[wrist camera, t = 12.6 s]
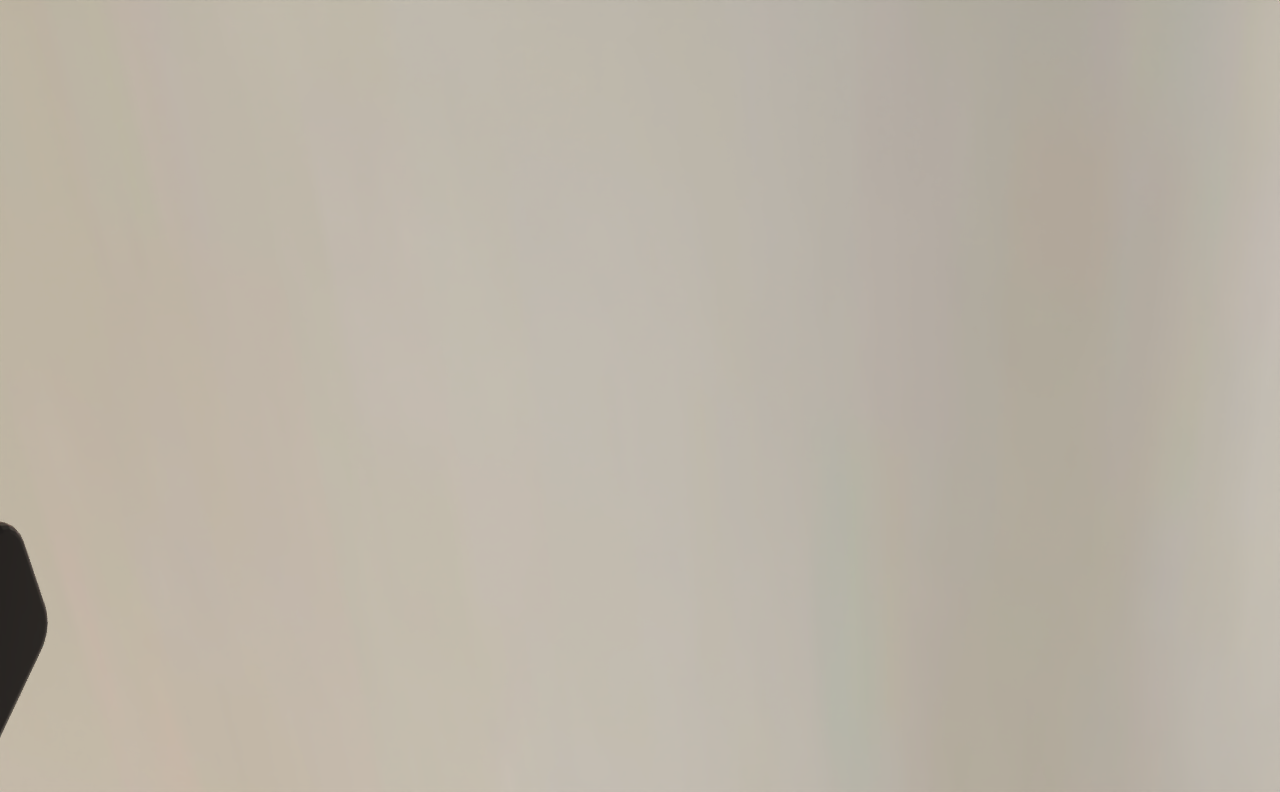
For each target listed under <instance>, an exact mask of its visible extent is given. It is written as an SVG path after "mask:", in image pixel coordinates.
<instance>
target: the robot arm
mask: <svg viewBox="0 0 1280 792" xmlns="http://www.w3.org/2000/svg"><path fill="white" fill-rule="evenodd" d="M47 623H48V622H47V611H46V607H45V604H44V601H43V598H42V595H41V592H40V589H39V586H38V583H37V580H36V577H35V574H34V571H33V568H32V565H31V562H30V559H29V556H28V553H27V550H26V547H25V544H24V541H23V539H22V537H21V535H20V534H19V533H18V531H17V530H16V529H15V528H14V527H13V526H11V525H9V524H7V523H4V522H0V736H1V734H2V732H3V730H4V728H5V726H6V724H7V721H8V719H9V717H10V715H11V713H12V711H13V709H14V707H15V705H16V702H17V700H18V698H19V696H20V694H21V692H22V690H23V688H24V685H25V683H26V681H27V679H28V677H29V675H30V673H31V671H32V669H33V666H34V664H35V662H36V660H37V658H38V656H39V654H40V652H41V649H42V647H43V644H44V641H45V637H46V633H47Z"/></svg>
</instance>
